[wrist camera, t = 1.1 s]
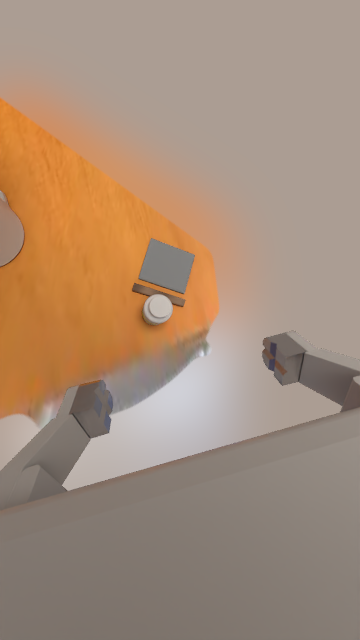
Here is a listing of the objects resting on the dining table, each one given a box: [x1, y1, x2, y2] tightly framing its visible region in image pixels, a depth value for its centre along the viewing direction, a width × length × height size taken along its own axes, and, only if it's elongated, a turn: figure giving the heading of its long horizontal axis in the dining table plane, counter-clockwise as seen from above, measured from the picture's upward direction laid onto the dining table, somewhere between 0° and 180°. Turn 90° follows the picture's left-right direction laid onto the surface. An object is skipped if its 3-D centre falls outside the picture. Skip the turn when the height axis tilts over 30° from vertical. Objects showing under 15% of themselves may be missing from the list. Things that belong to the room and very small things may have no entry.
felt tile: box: [139, 238, 195, 294], centre depth 47 cm, size 11×10×1 cm
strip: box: [132, 283, 185, 307], centre depth 45 cm, size 12×2×1 cm, turn 75°
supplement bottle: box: [142, 294, 173, 325], centre depth 40 cm, size 6×6×10 cm
